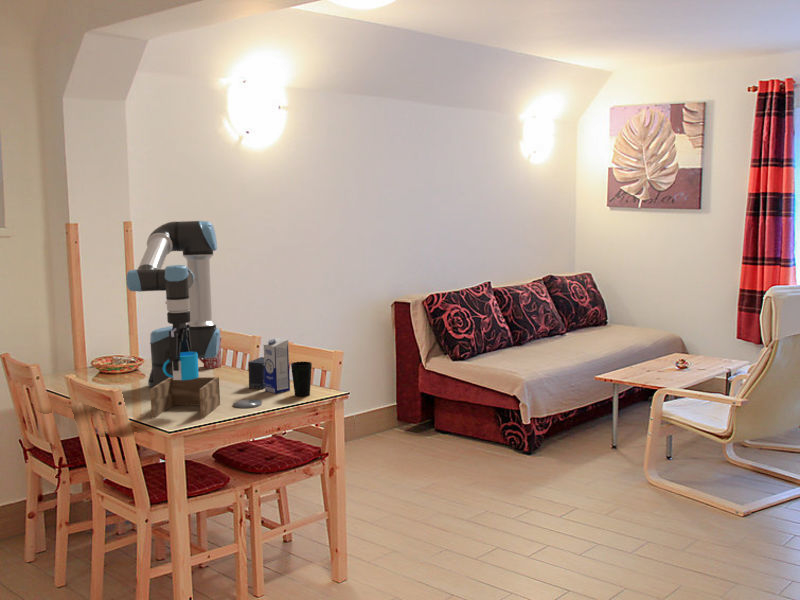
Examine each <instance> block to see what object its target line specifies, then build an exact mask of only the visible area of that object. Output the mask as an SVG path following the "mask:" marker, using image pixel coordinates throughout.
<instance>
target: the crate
mask: <svg viewBox="0 0 800 600" xmlns="http://www.w3.org/2000/svg"><path fill="white" fill-rule="evenodd" d="M149 389H150V388H149ZM149 393H150V394H149V395H150V408H151V409H150V410H151V418H152V419H155V418H157V417H159V415H162V413H164V412H166V411H167V410H168V409H170V408H171V407H172V406H199V407H200V419H205V418H206V417H208V415H210V414H211V413H212V412H213V411H214V410H215V409H217V408H218V407H219V406H220V405H221V397H220V395H221V394H220V377H219V376H199V377H198V378H196V379H191V380H173V378H172V377H169V378H168V379H166V380H164V381H163V382H161V383H159V384H158V385H156V386H154V387H153V388H151V389H150V390H149Z"/></svg>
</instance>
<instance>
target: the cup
mask: <svg viewBox="0 0 800 600" xmlns="http://www.w3.org/2000/svg"><path fill="white" fill-rule="evenodd" d="M312 365H313V363H312V362H311V361H296V362H295V361H294V362H292V363H290V366H291V367H290V368H291V369H290V370H291V376H292V377H291V378H292V383H293V384H292V385H293V391H294V392H293V393H294V396H295V398H296V397H298V398H305V397H310V395H311V386H312V385H311V383H312V367H313V366H312Z"/></svg>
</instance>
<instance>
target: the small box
mask: <svg viewBox="0 0 800 600" xmlns="http://www.w3.org/2000/svg"><path fill="white" fill-rule="evenodd" d="M248 389H255V390H256V389H257V390H258V389H259V390H260V389H261V390H264V389H265V368H264V356H261V357H258V358H256V359H253V360H250V361H248Z"/></svg>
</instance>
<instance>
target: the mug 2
mask: <svg viewBox="0 0 800 600" xmlns="http://www.w3.org/2000/svg"><path fill="white" fill-rule="evenodd" d="M222 337H223V336H222V335H220V345H219V350H218V354H217V356H216V357H214V358H206V359H204V358H198V361H200V362H201V363H202V364H203V368H205V369H217V368H221V367H222V339H223V338H222Z"/></svg>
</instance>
